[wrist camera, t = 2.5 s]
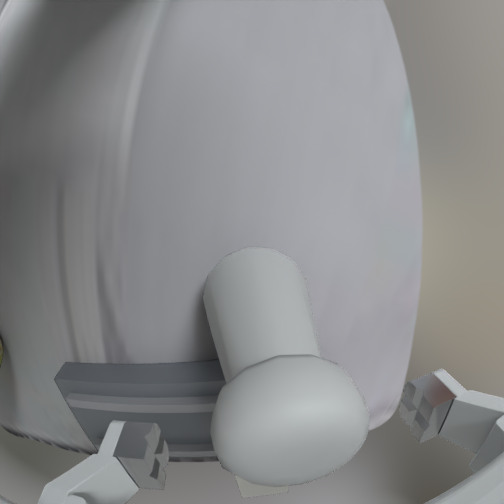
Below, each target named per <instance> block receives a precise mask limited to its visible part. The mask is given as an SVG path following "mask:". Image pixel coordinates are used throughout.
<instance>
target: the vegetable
mask: <svg viewBox="0 0 504 504" xmlns="http://www.w3.org/2000/svg"><path fill="white" fill-rule="evenodd" d="M2 357H3V347H2V342H1V339H0V367H1V363H2Z"/></svg>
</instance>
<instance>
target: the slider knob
mask: <svg viewBox="0 0 504 504" xmlns="http://www.w3.org/2000/svg"><path fill="white" fill-rule="evenodd" d="M235 478H236V481H237V484H238V487H239V490H240V493H241V496H242V498H249V497H258V496H268V495H275V494H281V493H288V486H282V487H270V486H263V485H257V484H252V483H250V482H248V481H246V480H244V479H242V478H240V477H238V476H236V475H235Z"/></svg>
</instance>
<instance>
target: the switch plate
mask: <svg viewBox="0 0 504 504" xmlns="http://www.w3.org/2000/svg"><path fill="white" fill-rule="evenodd" d="M54 380H55V382H56V384H57V386H58V388H59V390H60V392H61V394H62V395H63V397H64V399H65V401H66V402H67V404H68V406H69V408H70V409H71V411H72V413H73V414H74V416H75V418H76V419H77V421H78V423H79V424H80V426H81V427H82V429H83V430H84V432H85V433H86V435H87V436H88V438H89V439H90V441H91V442H92V444H93V445H94V446H95V448H96V449H97V450H98V451H99V449H100V446H101V444H102V441H103V439H104V437H105V434H106V432H107V429H108V427H109V425H110V423H111V422H112V421H113V420H117V421H129V422H142V423H155V424H158V426H159V428H160V430H161V432H160V436H161V437H162V438H164V439H165V441H166V443H167V446H168V452H169V457H173V458H203V457H217V455H216V453H215V451H214V447H213V443H212V438H211V434H210V430H211V421H212V415H213V412H214V408H215V405H216V402H217V399H218V396H219V393H220V391H221V389H222V388H223V386H225V385H226V381H225V377H224V374H223V371H222V367H221V364H220V361H219V360H210V361H197V362H181V363H159V364H91V363H71V362H65V364H64V365H63V367H62V368H61V369H60V371H59V372H58V373H57V375H56V376H55V377H54Z"/></svg>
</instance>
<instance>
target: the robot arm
mask: <svg viewBox="0 0 504 504" xmlns="http://www.w3.org/2000/svg"><path fill="white" fill-rule="evenodd" d="M403 392H404V393H405V394H406V395H405V396H404V397H403V398H402V400H401V402H400V406H399V410H400V416H401V418H402V420H403V422H404V423H405V424H407V425H409V426H411V433H412V434H413V436H414V437H415V439H416V440H417V442H418V443H422V442H423V441H426V440H428V439H430V438H432V437H435V436H437V435H438V436H440V437H441V438H443V439H445V440H448V441H450V442H452V443H454V444H456V445H458V446H460V447H463V448H465V449H467V450H469V451H472V452H474V453H476V455H475V457H474V458H473V459H472V461H471V462H470V465H469V466H470V468H471V469H472V470H473V472H474V474H473V475H472V476H470V477H469V478H467V479H466V480H464V481H463V482H461V483H459V484H458V485H456V486H455V487H453V488H451V489H450V490H448V491H446V492H445V493H443V494H441V495H439V496H438V497H436V498H434V499H432V500H430V501H428V502H426V503H425V504H504V398H502V397H497V396H492V395H489V394H484V393H480V392H476V391H472V390H470V391H467V390H466V389H464V388H463V387H462V386H461V385H460V384H459V383H458V382H457V381H456V380H455V379H454V378H453V377H451V375H449V374H448V373H447V372H446V371H445V370H443V369H439V370H437V371H434V372H432V373H430V374H427V375H425V376H422V377H420V378H417V379H415V380H412V381H409V382H407V384H406V385H405V387H404V390H403ZM160 432H161V430H160V428H159V426H158V424H155V423H142V422H129V421H117V420H113V421H112V422H111V423H110V425H109V427H108V429H107V432H106V434H105V437H104V439H103V441H102V444H101V446H100V449H99V451H98V454H92V455H91V456H89V457H88V458H87V459H85V460H84V461H82V462H81V463H79V464H78V465H76V466H75V467H73V468H71V469H70V470H69V471H67V472H65V473H64V474H62V475H61V476H59V477H57V478H56V479H54V480H53V481H51V482H50V483H48V484H46V486H45V488H44V490H43V492H42V494H41V497H40V499H39V501H38V503H37V504H126V503H127V502H128V501H129V500H130V499H131V498H132V496H134V494H135V493H136V492H137V491H138V490H139V488H145V489H159V490H163V489H164V485H165V479H166V473H165V472H164V470H163V468H164V467H165V466H166V465H168V460H169V452H168V446H167V443H166V441H165V439H164V438H162V437H161V436H160ZM0 504H16V503H14V502H12V501H10V500H8V499H6V498H5V497H3V496H1V495H0Z"/></svg>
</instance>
